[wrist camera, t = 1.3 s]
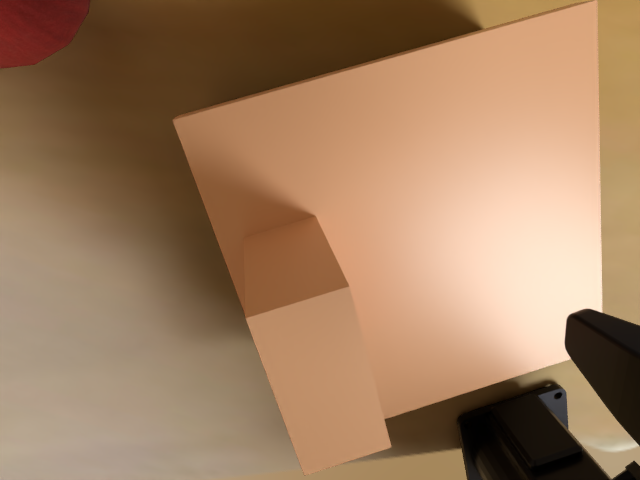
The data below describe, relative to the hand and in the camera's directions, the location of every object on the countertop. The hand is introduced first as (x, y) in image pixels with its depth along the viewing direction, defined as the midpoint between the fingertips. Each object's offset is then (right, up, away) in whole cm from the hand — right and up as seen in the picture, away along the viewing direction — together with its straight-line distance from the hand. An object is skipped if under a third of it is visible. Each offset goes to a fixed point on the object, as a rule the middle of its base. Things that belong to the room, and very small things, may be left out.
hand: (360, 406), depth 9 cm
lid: (+2, +4, +10) cm, 10 cm away
